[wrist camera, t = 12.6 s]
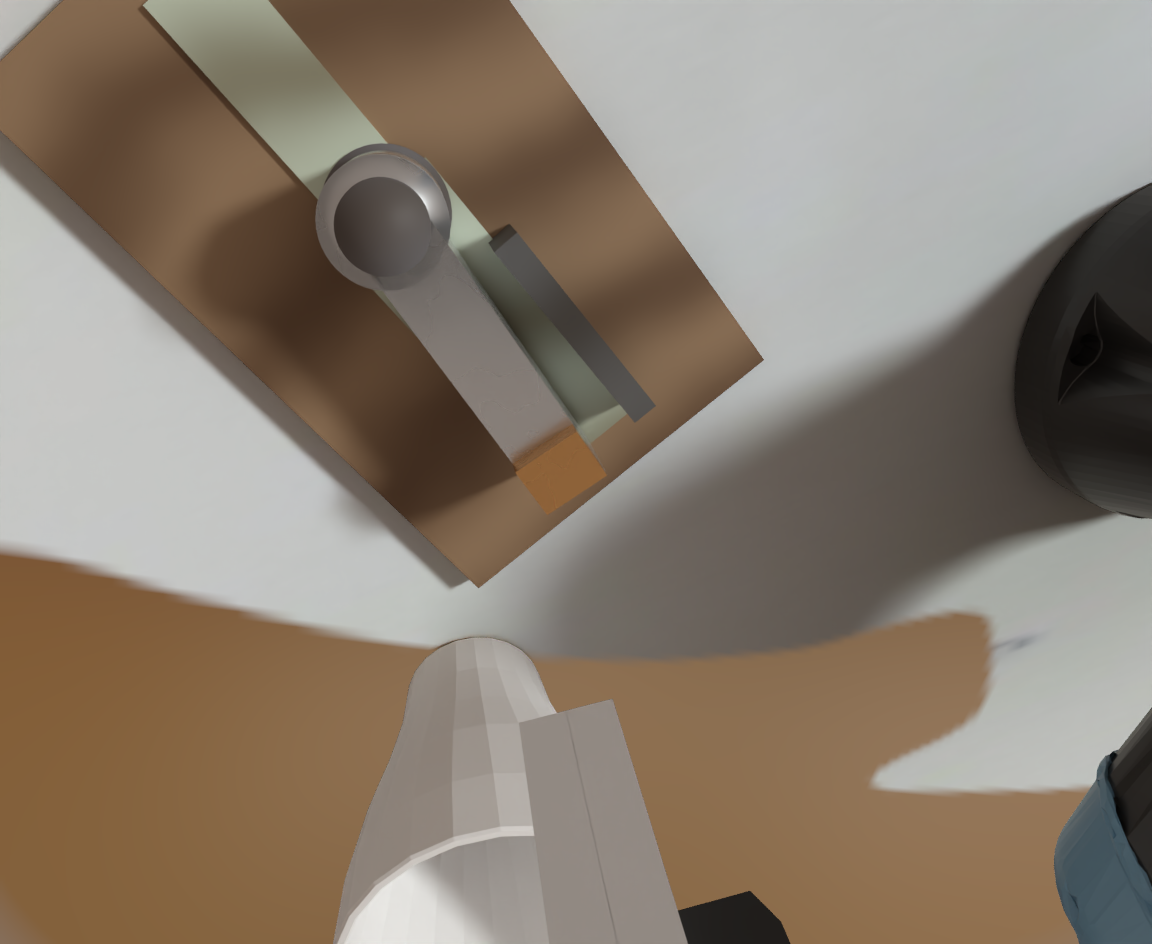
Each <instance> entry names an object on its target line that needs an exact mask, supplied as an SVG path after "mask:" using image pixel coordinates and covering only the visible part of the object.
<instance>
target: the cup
mask: <svg viewBox="0 0 1152 944" xmlns="http://www.w3.org/2000/svg"><path fill="white" fill-rule="evenodd" d="M555 713H557V712H556V711H555V709H554V707H553V706H552V704H551V703H550V701H549V698H548V696H547V693H546V691H545V688H544V686H543V683H542V681H541V679H540V676H539V673H538V671H537V669H536V668H535V666H534V664H533V662H532V660H531V659H530V658H529V657H528V656H527V655H526V654H525V653H524V652H523V651H522V650H520V649H518V648H517V647H515V646H513V645H511V644H510V643H508V642H504V641H501V640H497V639H493V638H474V637H473V638H468V639H463V640H458V641H454V642H452V643H450V644H447V645H445V646H443V647H441V648H439V649H437V650H436V651H435V652H433V653H432V654H431V655H429V656H428V657H427V658H425V660H424V661H423V662H422V663H421V665H420V666H419V667H418V668H417V670H416V671H415V673H414V675H413V677H412V680H411V682H410V685H409V689H408V695H407V702H406V708H405V714H404V720H403V724H402V727H401V729H400V732H399V735H398V738H397V741H396V744H395V747H394V749H393V752H392V755H391V758H390V760H389V763H388V765H387V767H386V769H385V772H384V774H383V776H382V778H381V780H380V783H379V785H378V788H377V790H376V792H375V794H374V797H373V799H372V802H371V804H370V806H369V808H368V811H367V814H366V817H365V821H364V823H363V826H362V829H361V832H360V836H359V839H358V841H357V845H356V848H355V851H354V854H353V857H352V860H351V863H350V866H349V869H348V873H347V875H346V878H345V882H344V887H343V893H342V898H341V904H340V909H339V915H338V920H337V925H336V931H335V936H334V942H333V944H549V938H548V931H547V923H546V916H545V909H544V902H543V894H542V887H541V880H540V873H539V865H538V858H537V851H536V844H535V836H534V829H533V822H532V815H531V807H530V800H529V793H528V786H527V778H526V771H525V764H524V757H523V749H522V742H521V735H520V728H519V723H520V722H524V721H528V720H532V719H535V718H539V717H543V716H547V715H551V714H555Z"/></svg>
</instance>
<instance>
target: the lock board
mask: <svg viewBox="0 0 1152 944" xmlns="http://www.w3.org/2000/svg"><path fill="white" fill-rule="evenodd" d="M0 131H1V132H2V133H3V134H5V135H6V136H7V137H8V138H9V139H10V140H11V141H12V142H13V143H14V144H15V145H16V146H17V147H18V148H19V149H20V150H21V151H22V152H23V153H24V154H25V155H26V156H28V157H29V158H30V159H31V160H32V161H33V162H34V163H35V164H36V165H37V166H38V167H39V168H40V169H41V170H42V171H43V172H44V173H45V174H46V175H47V176H48V177H49V178H51V179H52V180H53V181H54V182H55V183H56V184H57V185H58V186H59V187H60V188H61V189H62V190H63V191H64V192H65V193H66V194H67V195H68V196H69V197H70V198H71V199H72V200H74V201H75V202H76V203H77V204H78V205H79V206H80V207H81V208H82V209H83V210H84V211H85V212H86V213H87V214H88V215H89V216H90V217H91V218H92V219H93V220H94V221H95V222H96V223H98V224H99V225H100V226H101V227H102V228H103V229H104V230H105V231H106V232H107V233H108V234H109V235H110V236H111V237H112V238H113V239H114V240H115V241H116V242H117V243H118V244H119V245H121V246H122V247H123V248H124V249H125V250H126V251H127V252H128V253H129V254H130V255H131V256H132V257H133V258H134V259H135V260H136V261H137V262H138V263H139V264H140V265H141V266H142V267H144V268H145V269H146V270H147V271H148V272H149V273H150V274H151V275H152V276H153V277H154V278H155V279H156V280H157V281H158V282H159V283H160V284H161V285H162V286H163V287H164V288H165V289H166V290H168V291H169V292H170V293H171V294H172V295H173V296H174V297H175V298H176V299H177V300H178V301H179V302H180V303H181V304H182V305H183V306H184V307H185V308H186V309H187V310H188V311H189V312H191V313H192V314H193V315H194V316H195V317H196V318H197V319H198V320H199V321H200V322H201V323H202V324H203V325H204V326H205V327H206V328H207V329H208V330H209V331H210V332H211V333H212V334H214V335H215V336H216V337H217V338H218V339H219V340H220V341H221V342H222V343H223V344H224V345H225V346H226V347H227V348H228V349H229V350H230V351H231V352H232V353H233V354H234V355H235V356H237V357H238V358H239V359H240V360H241V361H242V362H243V363H244V364H245V365H246V366H247V367H248V368H249V369H250V370H251V371H252V372H253V373H254V374H255V375H256V376H257V377H258V378H259V379H261V380H262V381H263V382H264V383H265V384H266V385H267V386H268V387H269V388H270V389H271V390H272V391H273V392H274V393H275V394H276V395H277V396H278V397H279V398H280V399H281V400H282V401H284V402H285V403H286V404H287V405H288V406H289V407H290V408H291V409H292V410H293V411H294V412H295V413H296V414H297V415H298V416H299V417H300V418H301V419H302V420H303V421H304V422H305V423H307V424H308V425H309V426H310V427H311V428H312V429H313V430H314V431H315V432H316V433H317V434H318V435H319V436H320V437H321V438H322V439H323V440H324V441H325V442H326V443H327V444H328V445H329V446H331V447H332V448H333V449H334V450H335V451H336V452H337V453H338V454H339V455H340V456H341V457H342V458H343V459H344V460H345V461H346V462H347V463H348V464H349V465H350V466H351V467H352V468H354V469H355V470H356V471H357V472H358V473H359V474H360V475H361V476H362V477H363V478H364V479H365V480H366V481H367V482H368V483H369V484H370V485H371V486H372V487H373V488H374V489H375V490H377V491H378V492H379V493H380V494H381V495H382V496H383V497H384V498H385V499H386V500H387V501H388V502H389V503H390V504H391V505H392V506H393V507H394V508H395V509H396V510H397V511H398V512H400V513H401V514H402V515H403V516H404V517H405V518H406V519H407V520H408V521H409V522H410V523H411V524H412V525H413V526H414V527H415V528H416V529H417V530H418V531H419V532H420V533H421V534H422V535H424V536H425V537H426V538H427V539H428V540H429V541H430V542H431V543H432V544H433V545H434V546H435V547H436V548H437V549H438V550H439V551H440V552H441V553H442V554H443V555H444V556H445V557H447V558H448V559H449V560H450V561H451V562H452V563H453V564H454V565H455V566H456V567H457V568H458V569H459V570H460V571H461V572H462V573H463V574H464V575H465V576H466V577H467V578H468V579H470V580H471V581H472V582H473V583H474V584H475V585H476V586H477V587H478V588H479V587H481V586H482V585H483V584H484V583H486V582H487V581H488V580H489V579H491V578H492V577H493V576H494V575H496V574H497V573H498V572H499V571H501V570H502V569H503V568H504V567H506V566H507V565H508V564H509V563H511V562H512V561H513V560H514V559H516V558H517V557H518V556H519V555H521V554H522V553H523V552H524V551H526V550H527V549H528V548H529V547H531V546H532V545H533V544H534V543H536V542H537V541H538V540H539V539H541V538H542V537H543V536H544V535H546V534H547V533H548V532H549V531H551V530H552V529H553V528H554V527H556V526H557V525H558V524H559V523H561V522H562V521H563V520H564V519H566V518H567V517H568V516H569V515H571V514H572V513H573V512H574V511H576V510H577V509H578V508H579V507H581V506H582V505H583V504H584V503H586V502H587V501H588V500H589V499H591V498H592V497H593V496H594V495H596V494H597V493H598V492H599V491H601V490H602V489H603V488H604V487H606V486H607V485H608V484H609V483H611V482H612V481H613V480H614V479H616V478H617V477H618V476H619V475H621V474H622V473H623V472H624V471H626V470H627V469H628V468H629V467H631V466H632V465H633V464H634V463H636V462H637V461H638V460H639V459H641V458H642V457H643V456H644V455H646V454H647V453H648V452H649V451H651V450H652V449H653V448H654V447H656V446H657V445H658V444H659V443H661V442H662V441H663V440H664V439H666V438H667V437H668V436H669V435H671V434H672V433H673V432H674V431H676V430H677V429H678V428H679V427H681V426H682V425H683V424H684V423H686V422H687V421H688V420H689V419H691V418H692V417H693V416H694V415H696V414H697V413H698V412H699V411H701V410H702V409H703V408H704V407H706V406H707V405H708V404H709V403H711V402H712V401H713V400H714V399H716V398H717V397H718V396H719V395H721V394H722V393H723V392H724V391H726V390H727V389H728V388H729V387H731V386H732V385H733V384H734V383H736V382H737V381H738V380H739V379H741V378H742V377H743V376H744V375H746V374H747V373H748V372H749V371H751V370H752V369H753V368H754V367H756V366H757V365H758V364H759V363H761V362H762V361H763V360H764V359H763V358H762V356H761V355H760V354H759V352H758V351H757V349H756V348H755V347H754V345H753V344H752V342H751V341H750V339H749V338H748V337H747V335H746V334H745V332H744V331H743V330H742V328H741V327H740V325H739V324H738V323H737V321H736V320H735V318H734V317H733V315H732V314H731V313H730V311H729V310H728V308H727V307H726V306H725V304H724V303H723V301H722V300H721V299H720V297H719V296H718V294H717V293H716V291H715V290H714V289H713V287H712V286H711V284H710V283H709V282H708V280H707V279H706V277H705V276H704V275H703V273H702V272H701V270H700V269H699V267H698V266H697V265H696V263H695V262H694V260H693V259H692V258H691V256H690V255H689V253H688V252H687V251H686V249H685V248H684V246H683V245H682V243H681V242H680V241H679V239H678V238H677V236H676V235H675V234H674V232H673V231H672V229H671V228H670V227H669V225H668V224H667V222H666V221H665V219H664V218H663V217H662V215H661V214H660V212H659V211H658V210H657V208H656V207H655V205H654V204H653V203H652V201H651V200H650V198H649V197H648V195H647V194H646V193H645V191H644V190H643V188H642V187H641V186H640V184H639V183H638V181H637V180H636V179H635V177H634V176H633V174H632V173H631V171H630V170H629V169H628V167H627V166H626V164H625V163H624V162H623V160H622V159H621V157H620V156H619V155H618V153H617V152H616V150H615V149H614V147H613V146H612V145H611V143H610V142H609V140H608V139H607V138H606V136H605V135H604V133H603V132H602V131H601V129H600V128H599V126H598V125H597V123H596V122H595V121H594V119H593V118H592V116H591V115H590V114H589V112H588V111H587V109H586V108H585V107H584V105H583V104H582V102H581V101H580V99H579V98H578V97H577V95H576V94H575V92H574V91H573V90H572V88H571V87H570V85H569V84H568V83H567V81H566V80H565V78H564V77H563V75H562V74H561V73H560V71H559V70H558V68H557V67H556V66H555V64H554V63H553V61H552V60H551V58H550V57H549V56H548V54H547V53H546V51H545V50H544V49H543V47H542V46H541V44H540V43H539V42H538V40H537V39H536V37H535V36H534V34H533V33H532V32H531V30H530V29H529V27H528V26H527V25H526V23H525V22H524V20H523V19H522V18H521V16H520V15H519V13H518V12H517V10H516V9H515V8H514V6H513V5H512V3H511V2H510V1H509V0H63V1H62V2H61V3H60V4H59V5H58V6H57V7H56V8H55V9H54V10H53V11H52V12H51V13H50V14H49V15H48V16H46V17H45V18H44V19H43V20H42V21H41V22H40V23H39V24H38V25H37V26H36V27H35V28H34V29H33V30H32V31H31V32H30V33H29V34H28V35H27V36H26V37H25V38H24V39H23V40H22V41H21V42H20V43H19V44H18V45H17V46H16V47H15V48H14V49H13V50H12V51H11V52H10V53H8V54H7V55H6V56H5V57H4V58H3V59H2V60H1V61H0ZM376 150H389V151H395V152H399V153H402V154H405V155H407V156H409V157H411V158H413V159H415V160H416V161H418V162H419V163H421V164H422V165H423V166H424V167H425V168H426V169H427V170H428V171H429V172H430V173H431V174H432V175H433V177H434V178H435V179H436V181H437V183H438V185H439V186H440V189H441V191H442V193H443V196H444V199H445V201H446V204H447V207H448V211H449V216H450V240H451V241H452V243H453V244H454V246H455V247H456V249H457V250H458V251H459V253H460V254H461V256H462V257H463V259H464V260H465V262H466V263H467V264H468V266H469V267H470V269H471V270H472V272H473V273H474V275H475V276H476V277H477V279H478V280H479V282H480V283H481V285H482V286H483V288H484V289H485V290H486V292H487V293H488V295H489V296H490V298H491V299H492V301H493V302H494V303H495V305H496V306H497V308H498V309H499V311H500V312H501V314H502V315H503V316H504V318H505V319H506V321H507V322H508V324H509V325H510V327H511V328H512V329H513V331H514V332H515V334H516V335H517V337H518V338H519V340H520V341H521V342H522V344H523V345H524V347H525V348H526V350H527V351H528V353H529V354H530V355H531V357H532V358H533V360H534V361H535V363H536V364H537V366H538V367H539V368H540V370H541V371H542V373H543V374H544V376H545V377H546V379H547V380H548V381H549V383H550V384H551V386H552V387H553V389H554V390H555V392H556V393H557V394H558V396H559V397H560V399H561V400H562V402H563V403H564V405H565V406H566V407H567V409H568V410H569V412H570V413H571V415H572V416H573V418H574V419H575V420H576V422H577V423H578V425H579V426H580V428H581V429H582V431H583V432H584V433H585V435H586V436H587V438H588V440H589V442H590V443H591V445H592V447H593V449H594V451H595V453H596V455H597V456H598V458H599V460H600V462H601V464H602V466H603V468H604V469H605V472H606V474H607V476H606V477H604V478H603V479H601V480H600V481H598V482H597V483H595V484H594V485H592V486H591V487H589V488H588V489H586V490H585V491H583V492H582V493H580V494H579V495H577V496H576V497H574V498H573V499H571V500H570V501H568V502H567V503H565V504H563V505H562V506H560V507H559V508H557V509H556V510H554V511H553V512H551V513H550V514H548V515H547V514H546V513H545V511H544V510H543V509H542V507H541V506H540V505H539V504H538V502H537V501H536V500H535V498H534V497H533V496H532V494H531V493H530V492H529V490H528V489H527V488H526V486H525V485H524V484H523V482H522V481H521V480H520V478H519V477H518V476H517V474H516V473H515V470H514V467H513V464H512V462H511V461H510V460H509V458H508V457H507V456H506V454H505V453H504V452H503V450H502V449H501V448H500V446H499V445H498V444H497V442H496V441H495V440H494V438H493V437H492V436H491V434H490V433H489V432H488V430H487V429H486V428H485V426H484V425H483V424H482V422H481V421H480V420H479V418H478V417H477V416H476V414H475V413H474V412H473V410H472V409H471V408H470V407H469V405H468V404H467V403H466V401H465V400H464V399H463V397H462V396H461V395H460V393H459V392H458V391H457V389H456V388H455V387H454V385H453V384H452V383H451V381H450V380H449V379H448V377H447V376H446V375H445V373H444V372H443V371H442V369H441V368H440V367H439V365H438V364H437V363H436V361H435V360H434V359H433V357H432V356H431V355H430V353H429V352H428V351H427V349H426V348H425V347H424V345H423V344H422V343H421V341H420V340H419V339H418V337H417V336H416V335H415V333H414V332H413V331H412V329H411V328H410V327H409V325H408V324H407V323H406V321H405V320H404V319H403V318H402V316H401V315H400V314H399V312H398V311H397V310H396V308H395V307H394V306H393V304H392V303H391V302H390V300H389V299H388V298H387V296H386V295H385V294H384V292H383V291H379V290H373V289H369V288H366V287H363V286H360V285H358V284H356V283H354V282H352V281H351V280H349V279H348V278H346V277H345V276H343V275H342V274H341V273H340V272H339V271H338V270H337V269H336V268H335V267H334V266H333V265H332V264H331V262H330V261H329V259H328V258H327V257H326V255H325V253H324V251H323V249H322V247H321V245H320V242H319V239H318V235H317V231H316V222H315V216H316V206H317V201H318V198H319V195H320V193H321V191H322V189H323V186H324V185H325V183H326V182H327V180H328V179H329V178H330V177H331V175H332V174H333V173H334V172H335V171H336V170H338V169H339V168H340V167H341V166H342V165H344V164H345V163H347V162H348V161H349V160H351V159H353V158H354V157H356V156H358V155H360V154H363V153H366V152H370V151H376ZM334 233H335V238H336V241H337V244H338V246H339V248H340V250H341V251H342V253H343V255H344V256H345V257H346V258H347V259H348V260H349V261H350V262H351V263H352V264H353V265H354V266H355V267H357V268H358V269H360V270H362V271H364V272H366V273H368V274H372V275H375V276H382V277H389V276H396V275H400V274H402V273H405V272H407V271H409V270H410V269H412V268H413V267H415V266H416V265H417V264H418V263H419V262H420V261H421V259H422V258H423V257H424V255H425V253H426V252H427V249H428V247H429V243H430V240H431V222H430V217H429V213H428V210H427V208H426V206H425V204H424V202H423V200H422V199H421V198H420V196H419V195H418V194H417V193H416V192H415V191H414V190H413V189H412V188H411V187H409V186H408V185H406V184H405V183H403V182H401V181H399V180H396V179H393V178H388V177H372V178H368V179H365V180H362V181H360V182H358V183H356V184H355V185H353V186H352V187H351V188H350V189H349V190H348V191H347V192H346V193H345V194H344V195H343V197H342V198H341V199H340V201H339V203H338V205H337V208H336V211H335V215H334Z"/></svg>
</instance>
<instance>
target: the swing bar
mask: <svg viewBox="0 0 1152 944" xmlns="http://www.w3.org/2000/svg"><path fill="white" fill-rule="evenodd" d="M372 177H388V178H393V179H396V180H399V181H401V182H403V183H405V184H406V185H408V186H409V187H411V188H412V189H413V190H414V191H415V192H416V193H417V194H418V195H419V196H420V198H421V199H422V200H423V202H424V204H425V206H426V208H427V210H428V213H429V217H430V222H431V240H430V243H429V247H428V249H427V252H426V253H425V255H424V257H423V258H422V259H421V261H420V262H419V263H418V264H417V265H416V266H415V267H413V268H412V269H410V270H409V271H407V272H405V273H402V274H400V275H396V276H389V277H382V276H375V275H372V274H368V273H366V272H364V271H362V270H360V269H358V268H357V267H355V266H354V265H353V264H352V263H351V262H350V261H349V260H348V259H347V258H346V257H345V256H344V255H343V253H342V251H341V250H340V248H339V246H338V244H337V241H336V238H335V233H334V215H335V211H336V208H337V205H338V203H339V201H340V199H341V198H342V197H343V195H344V194H345V193H346V192H347V191H348V190H349V189H350V188H351V187H352V186H353V185H355V184H356V183H358V182H360V181H362V180H365V179H368V178H372ZM315 222H316V231H317V235H318V239H319V242H320V245H321V247H322V249H323V251H324V253H325V255H326V257H327V258H328V259H329V261H330V262H331V264H332V265H333V266H334V267H335V268H336V269H337V270H338V271H339V272H340V273H341V274H342V275H343V276H345V277H346V278H348V279H349V280H351V281H352V282H354V283H356V284H358V285H360V286H363V287H366V288H369V289H373V290H379V291H383V292H384V294H385V295H386V296H387V298H388V299H389V300H390V302H391V303H392V304H393V306H394V307H395V308H396V310H397V311H398V312H399V314H400V315H401V316H402V318H403V319H404V320H405V321H406V323H407V324H408V325H409V327H410V328H411V329H412V331H413V332H414V333H415V335H416V336H417V337H418V339H419V340H420V341H421V343H422V344H423V345H424V347H425V348H426V349H427V351H428V352H429V353H430V355H431V356H432V357H433V359H434V360H435V361H436V363H437V364H438V365H439V367H440V368H441V369H442V371H443V372H444V373H445V375H446V376H447V377H448V379H449V380H450V381H451V383H452V384H453V385H454V387H455V388H456V389H457V391H458V392H459V393H460V395H461V396H462V397H463V399H464V400H465V401H466V403H467V404H468V405H469V407H470V408H471V409H472V410H473V412H474V413H475V414H476V416H477V417H478V418H479V420H480V421H481V422H482V424H483V425H484V426H485V428H486V429H487V430H488V432H489V433H490V434H491V436H492V437H493V438H494V440H495V441H496V442H497V444H498V445H499V446H500V448H501V449H502V450H503V452H504V453H505V454H506V456H507V457H508V458H509V460H510V461H511V462H512V464H513V467H514V470H515V473H516V474H517V476H518V477H519V478H520V480H521V481H522V482H523V484H524V485H525V486H526V488H527V489H528V490H529V492H530V493H531V494H532V496H533V497H534V498H535V500H536V501H537V502H538V504H539V505H540V506H541V507H542V509H543V510H544V511H545V513H546V514H547V515H548V514H550V513H551V512H553V511H554V510H556V509H557V508H559V507H560V506H562V505H563V504H565V503H567V502H568V501H570V500H571V499H573V498H574V497H576V496H577V495H579V494H580V493H582V492H583V491H585V490H586V489H588V488H589V487H591V486H592V485H594V484H595V483H597V482H598V481H600V480H601V479H603V478H604V477H606V476H607V474H606V472H605V469H604V468H603V466H602V464H601V462H600V460H599V458H598V456H597V455H596V453H595V451H594V449H593V447H592V445H591V443H590V442H589V440H588V438H587V436H586V435H585V433H584V432H583V431H582V429H581V428H580V426H579V425H578V423H577V422H576V420H575V419H574V418H573V416H572V415H571V413H570V412H569V410H568V409H567V407H566V406H565V405H564V403H563V402H562V400H561V399H560V397H559V396H558V394H557V393H556V392H555V390H554V389H553V387H552V386H551V384H550V383H549V381H548V380H547V379H546V377H545V376H544V374H543V373H542V371H541V370H540V368H539V367H538V366H537V364H536V363H535V361H534V360H533V358H532V357H531V355H530V354H529V353H528V351H527V350H526V348H525V347H524V345H523V344H522V342H521V341H520V340H519V338H518V337H517V335H516V334H515V332H514V331H513V329H512V328H511V327H510V325H509V324H508V322H507V321H506V319H505V318H504V316H503V315H502V314H501V312H500V311H499V309H498V308H497V306H496V305H495V303H494V302H493V301H492V299H491V298H490V296H489V295H488V293H487V292H486V290H485V289H484V288H483V286H482V285H481V283H480V282H479V280H478V279H477V277H476V276H475V275H474V273H473V272H472V270H471V269H470V267H469V266H468V264H467V263H466V262H465V260H464V259H463V257H462V256H461V254H460V253H459V251H458V250H457V249H456V247H455V246H454V244H453V243H452V241H451V240H450V216H449V211H448V207H447V204H446V201H445V199H444V196H443V193H442V191H441V189H440V186H439V185H438V183H437V181H436V179H435V178H434V177H433V175H432V174H431V173H430V172H429V171H428V170H427V169H426V168H425V167H424V166H423V165H422V164H421V163H419V162H418V161H416V160H415V159H413V158H411V157H409V156H407V155H405V154H402V153H399V152H395V151H389V150H376V151H370V152H366V153H363V154H360V155H358V156H356V157H354V158H353V159H351V160H349V161H348V162H347V163H345V164H344V165H342V166H341V167H340V168H339V169H338V170H336V171H335V172H334V173H333V174H332V175H331V177H330V178H329V179H328V180H327V182H326V183H325V185H324V186H323V189H322V191H321V193H320V195H319V198H318V201H317V206H316V216H315Z"/></svg>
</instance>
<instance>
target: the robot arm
mask: <svg viewBox="0 0 1152 944" xmlns="http://www.w3.org/2000/svg"><path fill="white" fill-rule="evenodd" d="M1015 406H1016V414H1017V419H1018V424H1019V427H1020V430H1021V434H1022V436H1023V439H1024V441H1025V444H1026V446H1027V448H1028V450H1029V452H1030V453H1031V455H1032V456H1033V458H1034V460H1035V461H1036V462H1037V464H1038V465H1039V466H1040V467H1041V469H1042V470H1043V471H1044V472H1045V473H1046V474H1047V475H1048V476H1050V477H1051V478H1052V479H1053V480H1054V481H1056V482H1057V483H1059V484H1060V485H1062V486H1063V487H1065V488H1067V489H1069V490H1070V491H1072V492H1074V493H1076V494H1077V495H1079V496H1081V497H1083V498H1084V499H1086V500H1088V501H1090V502H1092V503H1093V504H1095V505H1097V506H1099V507H1102V508H1104V509H1106V510H1109V511H1112V512H1115V513H1118V514H1121V515H1125V516H1130V517H1135V518H1150V519H1152V185H1150V186H1148V187H1146V188H1144V189H1142V190H1141V191H1139V192H1137V193H1135V194H1133V195H1132V196H1130V197H1129V198H1127V199H1126V200H1124V201H1123V202H1121V203H1120V204H1118V205H1117V206H1116V207H1114V208H1113V209H1112V210H1110V211H1109V212H1108V213H1107V214H1105V215H1104V216H1103V217H1102V218H1101V219H1099V220H1098V221H1097V222H1096V223H1095V224H1094V225H1093V226H1092V227H1091V228H1090V229H1089V230H1088V231H1087V232H1086V233H1085V234H1084V235H1083V236H1082V237H1081V238H1080V239H1079V240H1078V241H1077V242H1076V243H1075V245H1074V246H1073V247H1072V248H1071V249H1070V250H1069V252H1068V253H1067V254H1066V255H1065V257H1064V258H1063V259H1062V261H1061V262H1060V263H1059V265H1058V266H1057V268H1056V269H1055V271H1054V272H1053V274H1052V275H1051V277H1050V278H1049V280H1048V282H1047V283H1046V285H1045V287H1044V288H1043V290H1042V292H1041V294H1040V296H1039V298H1038V300H1037V302H1036V304H1035V306H1034V308H1033V310H1032V313H1031V315H1030V318H1029V320H1028V323H1027V325H1026V328H1025V331H1024V335H1023V338H1022V341H1021V345H1020V349H1019V353H1018V359H1017V365H1016V373H1015ZM519 728H520V735H521V742H522V749H523V757H524V764H525V771H526V778H527V786H528V793H529V800H530V807H531V815H532V822H533V829H534V836H535V844H536V851H537V858H538V865H539V873H540V880H541V887H542V894H543V902H544V909H545V916H546V923H547V931H548V938H549V944H790V942H789V939H788V937H787V935H786V932H785V930H784V928H783V925H782V923H781V921H780V920H779V919H778V918H777V917H776V916H775V915H773V913H772V912H771V911H770V910H769V909H768V908H767V907H766V906H765V905H764V904H763V903H762V902H760V900H759V899H757V897H756V896H755V895H754V894H753V893H752V892H751V891H748V892H744V893H740V894H737V895H733V896H729V897H726V898H722V899H719V900H715V901H711V902H708V903H704V904H700V905H697V906H693V907H689V908H686V909H682V910H679V911H678V910H677V907H676V904H675V901H674V897H673V894H672V891H671V887H670V884H669V881H668V878H667V874H666V871H665V868H664V865H663V861H662V858H661V855H660V852H659V848H658V845H657V842H656V839H655V835H654V832H653V829H652V826H651V822H650V819H649V816H648V812H647V809H646V806H645V803H644V799H643V796H642V793H641V790H640V787H639V783H638V780H637V777H636V773H635V770H634V767H633V764H632V761H631V757H630V754H629V751H628V747H627V744H626V741H625V738H624V734H623V731H622V728H621V725H620V722H619V718H618V715H617V712H616V708H615V705H614V702H613V699H609V700H606V701H602V702H598V703H594V704H590V705H586V706H582V707H579V708H575V709H571V710H567V711H563V712H559V713H555V714H551V715H547V716H543V717H539V718H535V719H532V720H528V721H524V722H520V723H519ZM1054 869H1055V877H1056V885H1057V889H1058V893H1059V896H1060V899H1061V902H1062V906H1063V909H1064V911H1065V913H1066V915H1067V917H1068V919H1069V921H1070V923H1071V925H1072V927H1073V928H1074V930H1075V932H1076V934H1077V938H1078V940H1079V944H1152V708H1151V709H1150V711H1149V712H1148V713H1147V714H1146V716H1145V717H1144V718H1143V719H1142V721H1141V722H1140V723H1139V725H1138V726H1137V727H1136V728H1135V730H1134V731H1133V732H1132V734H1131V735H1130V736H1129V737H1128V739H1127V740H1126V741H1125V742H1124V744H1123V745H1122V746H1121V748H1120V749H1119V750H1116V751H1113V752H1112V753H1111V754H1110V755H1107V756H1105V757H1104V759H1103V760H1102V761H1101V762H1100V764H1099V767H1098V769H1097V779H1096V781H1095V782H1094V784H1093V785H1092V787H1091V788H1090V790H1089V791H1088V792H1087V794H1086V796H1085V797H1084V798H1083V800H1082V801H1081V803H1080V804H1079V806H1078V807H1077V809H1076V810H1075V811H1074V813H1073V815H1072V816H1071V817H1070V819H1069V820H1068V822H1067V823H1066V825H1065V826H1064V828H1063V830H1062V832H1061V834H1060V836H1059V838H1058V841H1057V845H1056V848H1055V856H1054Z"/></svg>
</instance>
